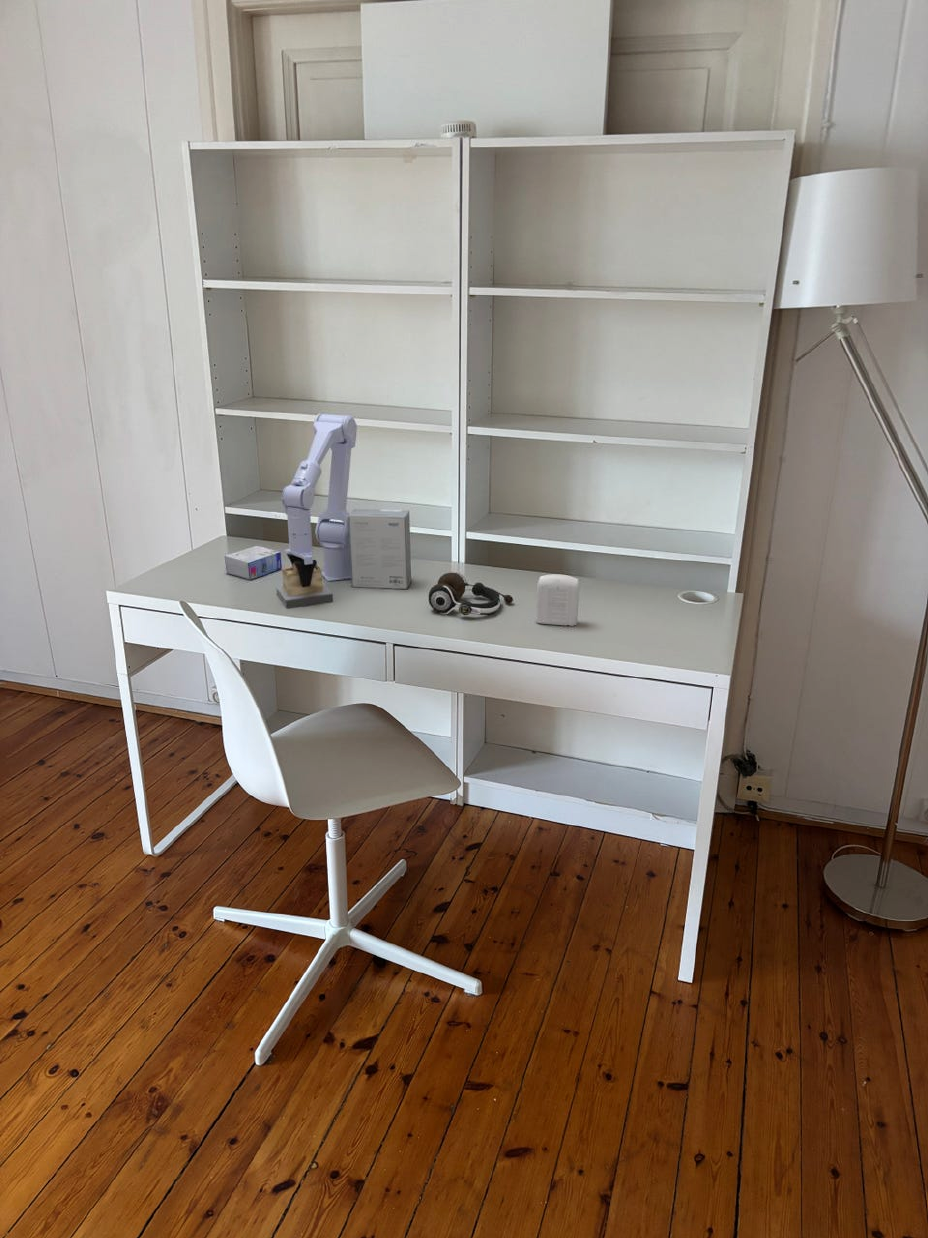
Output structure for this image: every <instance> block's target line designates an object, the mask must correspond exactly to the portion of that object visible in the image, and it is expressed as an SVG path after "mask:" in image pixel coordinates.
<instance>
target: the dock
mask: <svg viewBox="0 0 928 1238" xmlns="http://www.w3.org/2000/svg"><path fill="white" fill-rule="evenodd" d="M322 586H323V591H322V592H315V593H308V594H301V595H294V596H288V595H287V594H286V592H285V591H284V588H283V586H278V587H277V586H276V595H277V596H278V598H279V600H280V601H281V603H283V605H284V606H285V608H286V609H292V608H299V607H306V606H307V607H308V606H313V605H321V604H326V603H328V604H329V603H333V602H334V596H333V593H332V592H331V591H330V590H329V589H328V587H326V585H325V584H324V582H322Z"/></svg>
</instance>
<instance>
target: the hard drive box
mask: <svg viewBox="0 0 928 1238" xmlns="http://www.w3.org/2000/svg"><path fill="white" fill-rule="evenodd" d="M410 522H411V521H410V510H409V509H371V508H370V509H369V508H368V509H366V508H364V509H360V508H358V509H357V508H356V509H355V508H354V509H353V510H351V511H350V513H349V516H348V528H349V545H350V563H351V578H350V579H351V588H368V589H369V588H373V589H374V588H375V589H376V588H377V589H395V590H398V589H401V590H403V589H404V590H406V589H408V588H409V587H410V583H411V581H412V559H411V557H412V556H411V527H410Z"/></svg>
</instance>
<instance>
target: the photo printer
mask: <svg viewBox="0 0 928 1238" xmlns="http://www.w3.org/2000/svg"><path fill="white" fill-rule="evenodd" d="M536 585H537V586H536V601H535V602H536V603H535V618H534V619H535V622H536V623H537V624H544V625H555V626H556V625H559V626H567V625H569V626H568V627H570V626H571V627H573V626H574V625H575V626H577V625H578V619H579V618H578V615H579V602H580V590H581V589H580V583H579V579H578V578H576V577H574V576H570V575H567V574H566V575H565V574H559V573H557V574H555V573H554V574H553V573H552V574H545V575H541V576H540V577H539V578H538V581H537V584H536Z"/></svg>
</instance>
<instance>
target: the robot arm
mask: <svg viewBox="0 0 928 1238" xmlns="http://www.w3.org/2000/svg"><path fill="white" fill-rule="evenodd" d="M357 426H358V425H357V423H356V420H355V418H354V417H353V416H352V415H349V414H347V415H344V414H343V415H341V414H330V413H329V414H328V413H324V412H323V413H322V412H319V413H318V414H317V415H316V417H315V418H314V422H313V434H314V438H313V441H312V444H311V446H310V450H309V451H308V454H307V458H306V459H305V460H302V461H301V462H300V463H299V466H298V467H297V470H296V472H295V474H294V476H293V479H292V481H291V483H290V484H288V485H287V486H285V487H284V488H283V490H282V494H281V498H280V500H281V504H282V506H283V508H284V513H285V515H287V528H288V529H287V530H288V531H287V532H288V543H289V544H288V545H289V546H288V547H289V548H287V549H284V553H285V554H286V556H287V557H288V559H289V562H290V563H291V567H293V563H294V564H295V566H296V568H297V570H298V573H299V577H300V582H301V585H302V587H308V586H310V585H311V580H312V574H313V571H314V568H315V566H316V565H318V564H317V563H318V562H317V561H318V560H316V559H313V554H314V548H313V538H312V535H313V534H312V523H311V522H312V520H311V508H312V507H313V505H314V502H315V493H316V489H315V487H316V485H317V483H318V481H319V479H320V476H321V475H322V468H321V464H322V462H323V460H324V459H325V457H326V455H327V453H328V452H329V450H331V461H330V473H329V482H328V483H329V485H328V495H327V497H328V499H327V508H326V509H325V510H324V511H323V512H321V513H320V514H319V515H318V519H317V520H318V521H317V524H316V526H315V530H314V531H315V538H316V540H317V541H318V542H319V544H320V546H322V550H323V569H324V570H322V577H324V578H325V580H326V581H327V582H333V581H339V580H340V581H341V580H347V579H348V580H349V579H351V563H350V545H349V528H348V516H349V514H350V513H349V512H348V510H347V504H348V503H347V502H348V494H349V493H348V492H349V491H348V490H349V480H350V468H351V460H352V459H351V458H352V457H351V456H352V455H351V454H352V449H354V448H355V447H356V442H357V432H358V431H357V430H358V427H357ZM334 520H335V521H334Z"/></svg>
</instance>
